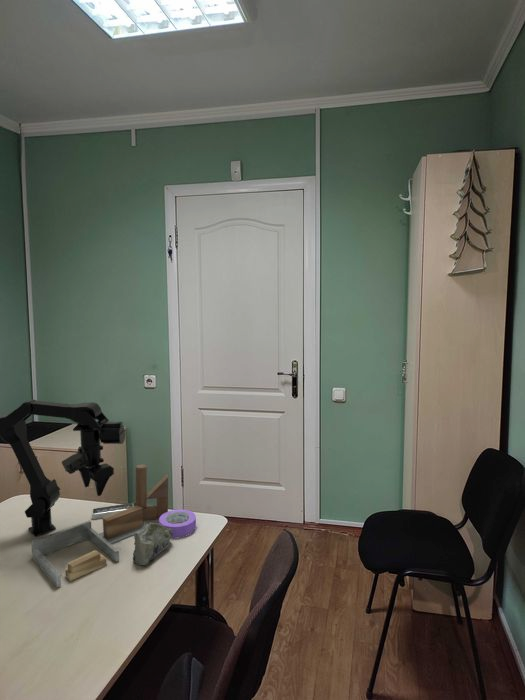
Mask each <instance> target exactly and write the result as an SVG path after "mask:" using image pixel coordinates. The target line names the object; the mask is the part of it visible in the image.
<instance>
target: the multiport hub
mask: <svg viewBox="0 0 525 700" xmlns="http://www.w3.org/2000/svg"><path fill="white" fill-rule="evenodd" d="M134 506H135V502H131V503H124V504H123V503H122V504H116V505H110V506H103V507H101V506H100V507H96V508H92V513H91V514H92V515H91V516H92V517H91V519H92V520H99V519H103V517H106V516H109V515H112V514H115V513H117V512H120V511H123V510H126V509H129V508H131V507H134Z"/></svg>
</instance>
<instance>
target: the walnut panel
mask: <svg viewBox="0 0 525 700" xmlns="http://www.w3.org/2000/svg"><path fill="white" fill-rule="evenodd" d="M143 523H144V520H143V508H142V507H140V506H139V505H137V506H134V507H131V508H129V509H126V510H123V511H120V512H117V513H115V514H112V515H109V516H106V517H103V518H102V528H103V529H102V530H103V531H102V532H103V534H104V537H105V538H106V539H108V540H109V539H111V538H114V537H116V536H119V535H121V534H124V533H126V532H129V531H131V530H134V529H136V528H139V527H141V526H143Z"/></svg>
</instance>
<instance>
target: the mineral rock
mask: <svg viewBox="0 0 525 700" xmlns="http://www.w3.org/2000/svg"><path fill="white" fill-rule="evenodd" d="M146 525H147V526H146V527H144V528H143V529H141V530H140V531H138V532H136V533H135V535H133V536H134V537H133V538H134V550H133V553H132V556H133V557H132V560H133V562H136V564H137V565H139V566H146V565H148V564H149V563H150V561H152V560H154V558H155V557H156V556H157V555H159V554H160V553H161V552H163V550H166V549H167V547H168V546H169V545H170V542H171V536H172V532H173V529H167V528H166V527H165V526H164V525H162V524H160V523H159V522H157V523H156V522H151V521H150V522H148V524H146Z"/></svg>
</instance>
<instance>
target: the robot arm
mask: <svg viewBox="0 0 525 700" xmlns="http://www.w3.org/2000/svg"><path fill="white" fill-rule="evenodd" d="M32 415H34V416H44V417H51V418H52V417H53V418H61V419H67V420H70V421H72V422H74V423H76V425H75V427H74V428H72V431H73V432H77V431H78V432H79V433H80V434H79V436H80V446H78V448H77V453H74V454H71V455H70V456H68V457H67V458H65V459H64V460H62V461H61V464H62V467H63V469H64V470H65V472H67V473H68V474H69V475H71V474H74V473H76V472H77V471H78V472H79V474H80V478H81V480H82V483H83V485H84V487H85V488H89V486H90V484H91V483H90V482H91V480H92V481H93V482H94V486H95V491H96V496H97V497H100V496H102V494H103V492H104V490H105V487H106V485H107V484H108V481H109V479H110V478H111V477H112V476H113V475H115V468H114V467H112V465H109V464H108V463H104V458H103V457H102V452H101V451H102V450H104V446H103V445H102V444H104V445H123V444H124V442H125V439H126V429H125V427H124V425H123V422H122V421H115V422H114V421H113V422H111V421H110V422H109V419H108V418H107V416H106V415H105V413H104V412H103V411H102V408H101V406H100V405H99V404H98V403H97V402H94V401H93V402H92V401H91V402H80V403H73V404H69V403H63V402H53V401H43V400H36V399H29V400H28V401H25V402H23V403H21V404H20V406H19V407H17V408H16V409H14V410H13V411H11V412H10V413H9V414H6V415H4V416H2V417H0V438H1V439H2V441H4V442H6V443H7V444H9V446H10V447H11V449H12V451H13V453H14V455H15V457H16V459H17V461H18V463H19V465H20V468H21V470H22V471H23V472H22V473H24V476H25V478H26V479H27V482H28V484H29V486H30V487H29V489H30V491H29V497H30V501H31V504H30V505H29V506H28V507H27V508H26V509H25V510H24V514H25V516H26V518H30V519H31V526H29V527H28V529H27V530H28V531H29V532H30V533H31V534H32V536H33V537H37V536H40V535H44V534H46V533H50V532H53V531H55V530H56V529H57V527H56V526H55V525H54V524H53V523H52V510H51V509H52V508H53V506H55V504H56V502H58V500H59V498H60V495H61V491H60V490H61V488H60V487H59V485H58V483H57V481H56V479H55V478H53V479H52V480H50V479H49V478H48V477H46V474H45V473H44V470H43V469H42V468H43V467H41V464H40V463H39V461H38V459H37V456H36V454H35V452H34V450H33V448H32V446H31V444H30V442H29V440H28V437H27V435H28V434H27V432H28V431H27V430H28V426H27V424H26V423H27V422H26V421H27V420H29V418H30V417H32ZM101 443H102V444H101ZM100 463H102V464H100Z"/></svg>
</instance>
